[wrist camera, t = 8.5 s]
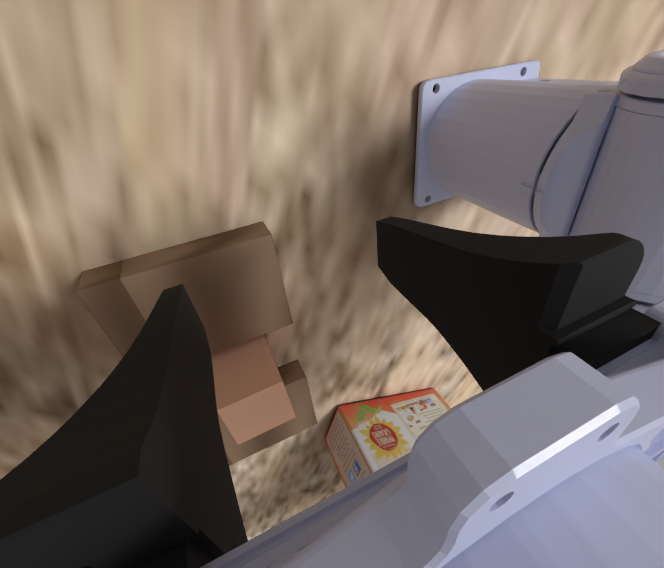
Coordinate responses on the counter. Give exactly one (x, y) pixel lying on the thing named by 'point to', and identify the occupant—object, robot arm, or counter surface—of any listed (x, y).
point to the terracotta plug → (249, 389)
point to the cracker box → (380, 431)
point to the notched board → (207, 307)
